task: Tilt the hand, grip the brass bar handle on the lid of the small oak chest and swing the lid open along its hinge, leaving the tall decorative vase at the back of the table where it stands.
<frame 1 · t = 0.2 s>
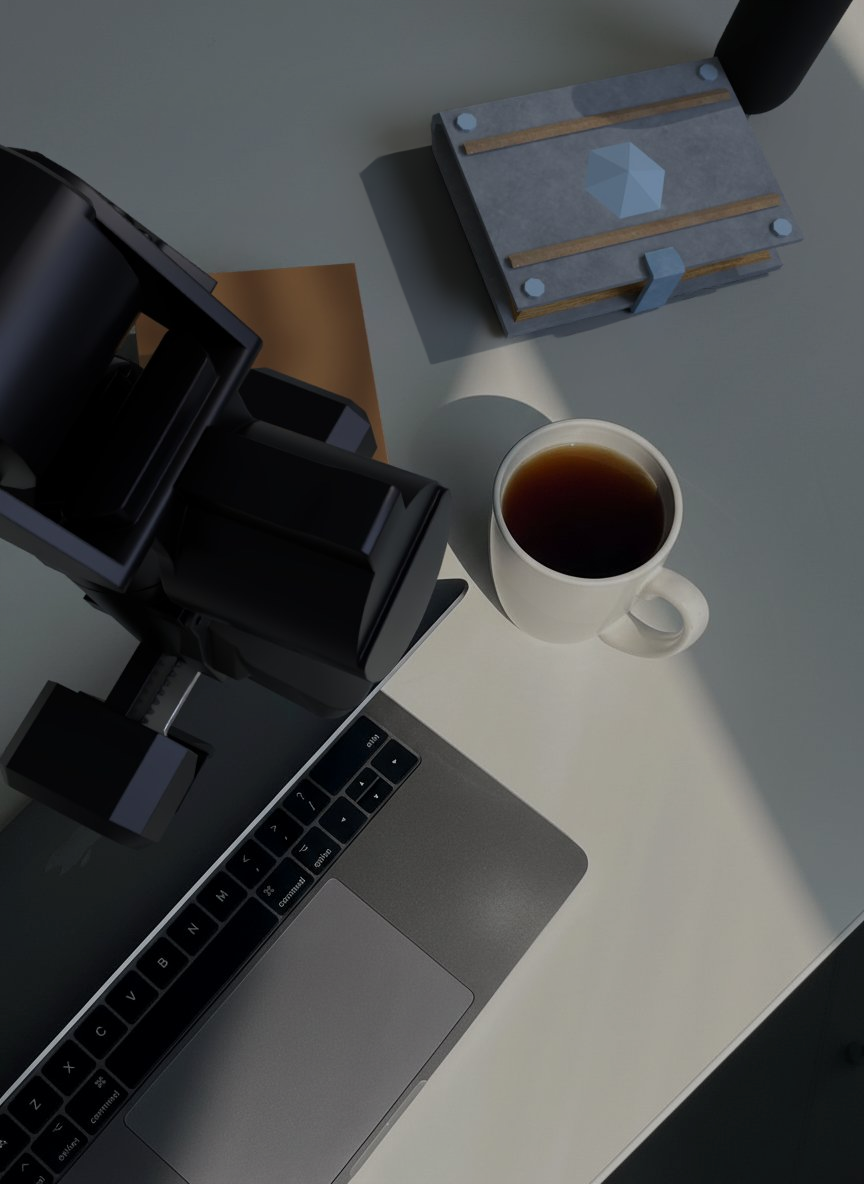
hand: (254, 659, 47), 14 cm above the table, tool pointing down, fingers open, 9 cm apart
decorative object: (737, 101, 78), on the table
lid: (257, 359, 59), point 7 cm above the table, hinge at 0.0°
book: (603, 212, 73), on the table
chest: (267, 413, 66), on the table
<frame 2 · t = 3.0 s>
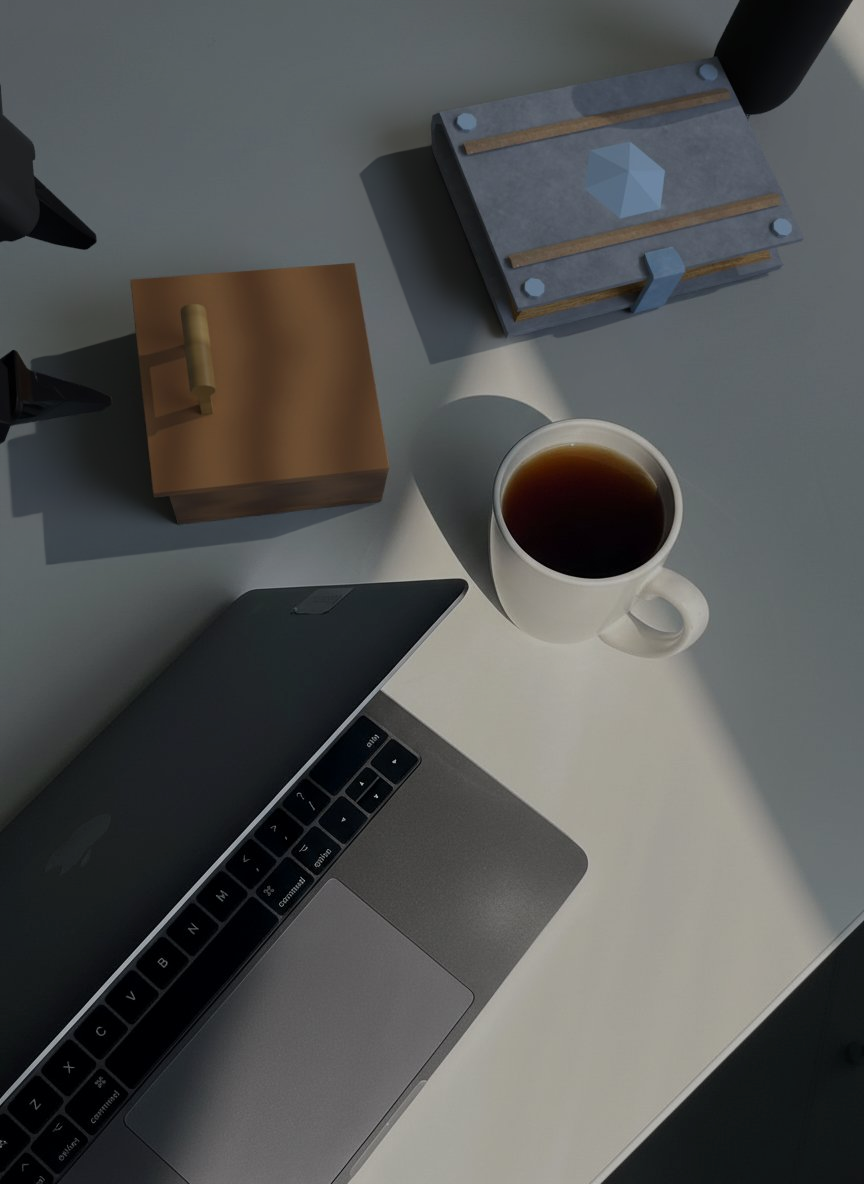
hand: (99, 322, 52), 12 cm above the table, tool tilted 45°, fingers open, 9 cm apart
nothing on the table moved.
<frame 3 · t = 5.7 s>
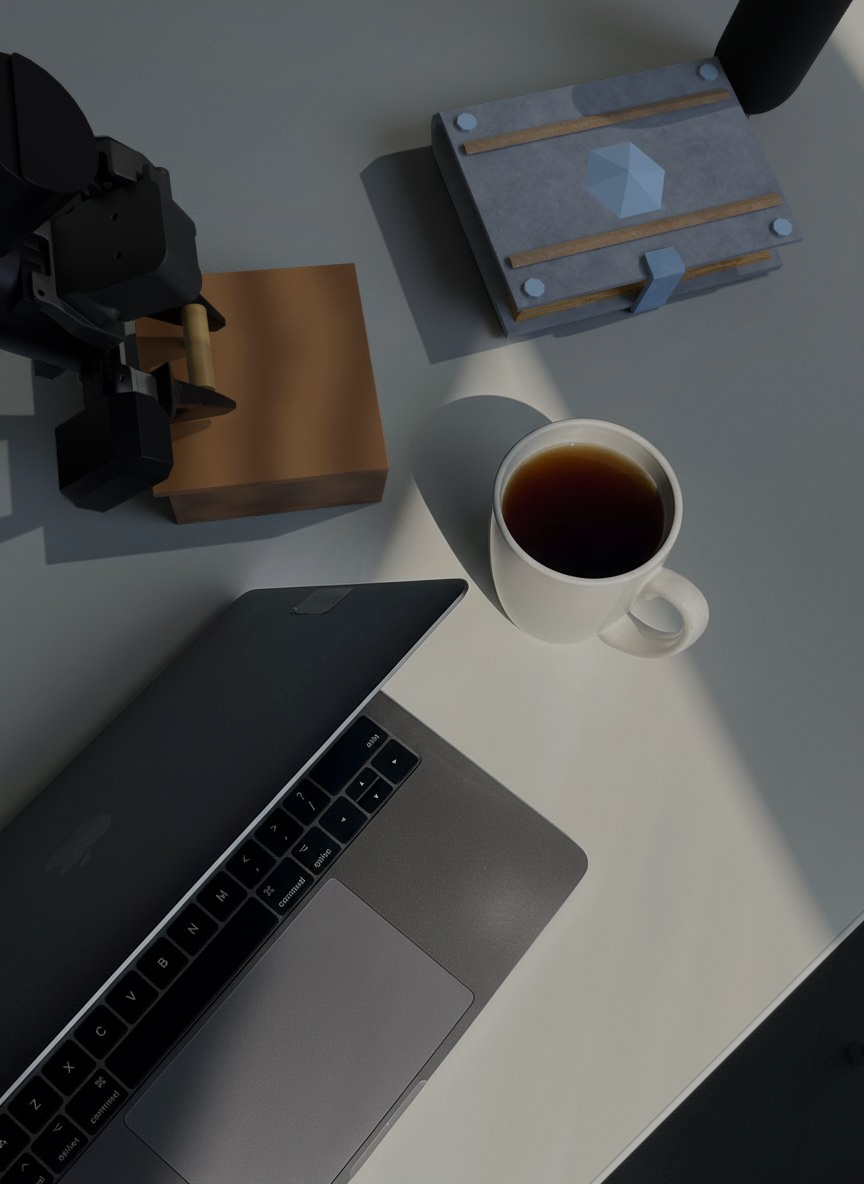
hand: (226, 367, 59), 7 cm above the table, tool tilted 45°, fingers closed on lid, 5 cm apart
lid: (257, 359, 59), point 7 cm above the table, hinge at 0.0°, touching gripper
everything else where it was.
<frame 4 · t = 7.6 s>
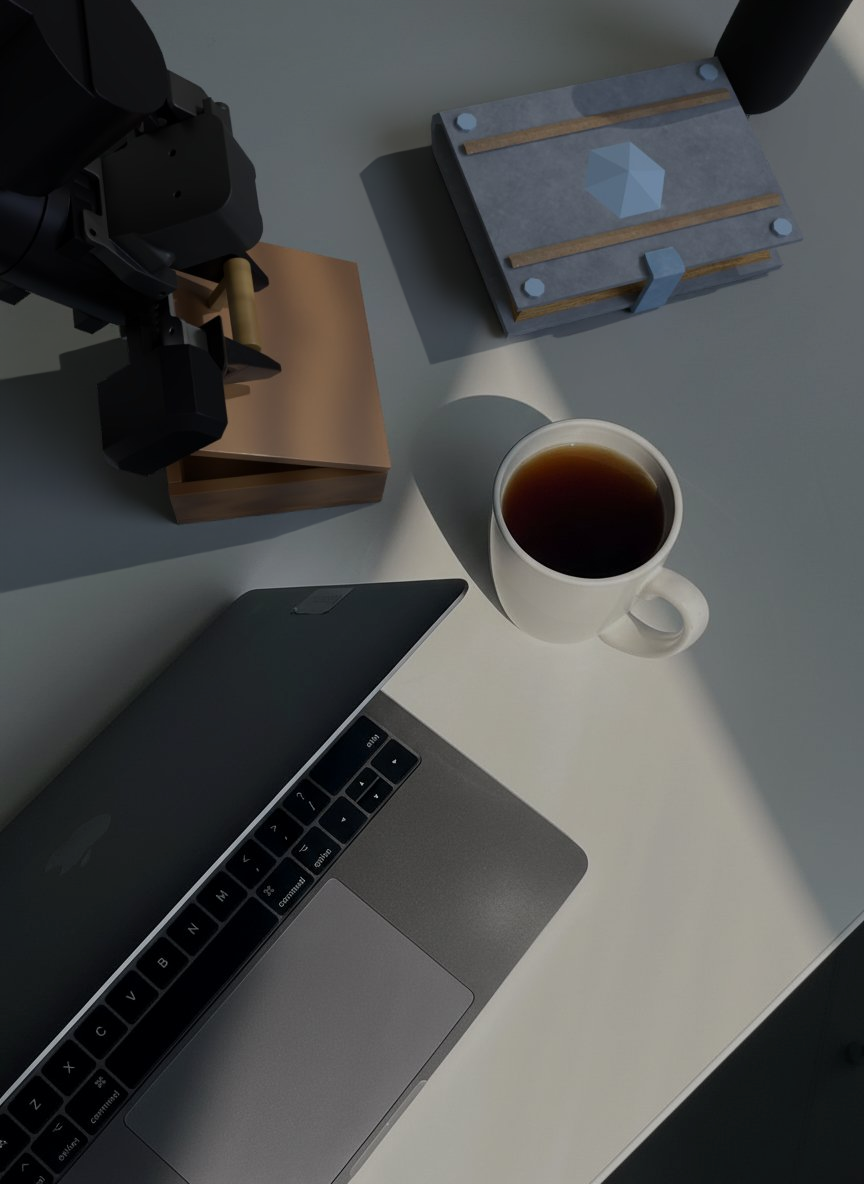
hand: (269, 328, 56), 10 cm above the table, tool tilted 45°, fingers closed on lid, 5 cm apart
lid: (284, 332, 56), point 10 cm above the table, hinge at 26.3°, touching gripper
everything else where it was.
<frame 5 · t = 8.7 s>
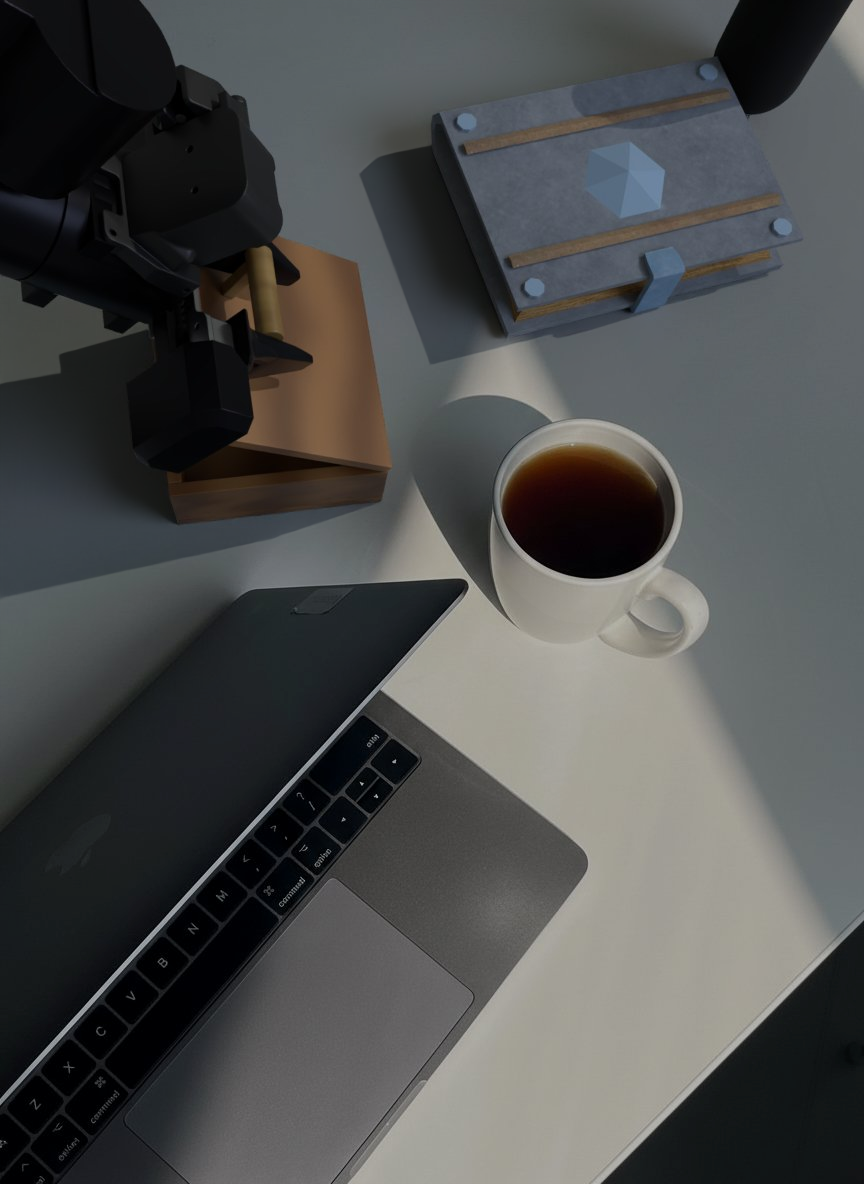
hand: (301, 321, 56), 11 cm above the table, tool tilted 45°, fingers closed on lid, 5 cm apart
lid: (297, 324, 56), point 11 cm above the table, hinge at 34.5°, touching gripper
everything else where it was.
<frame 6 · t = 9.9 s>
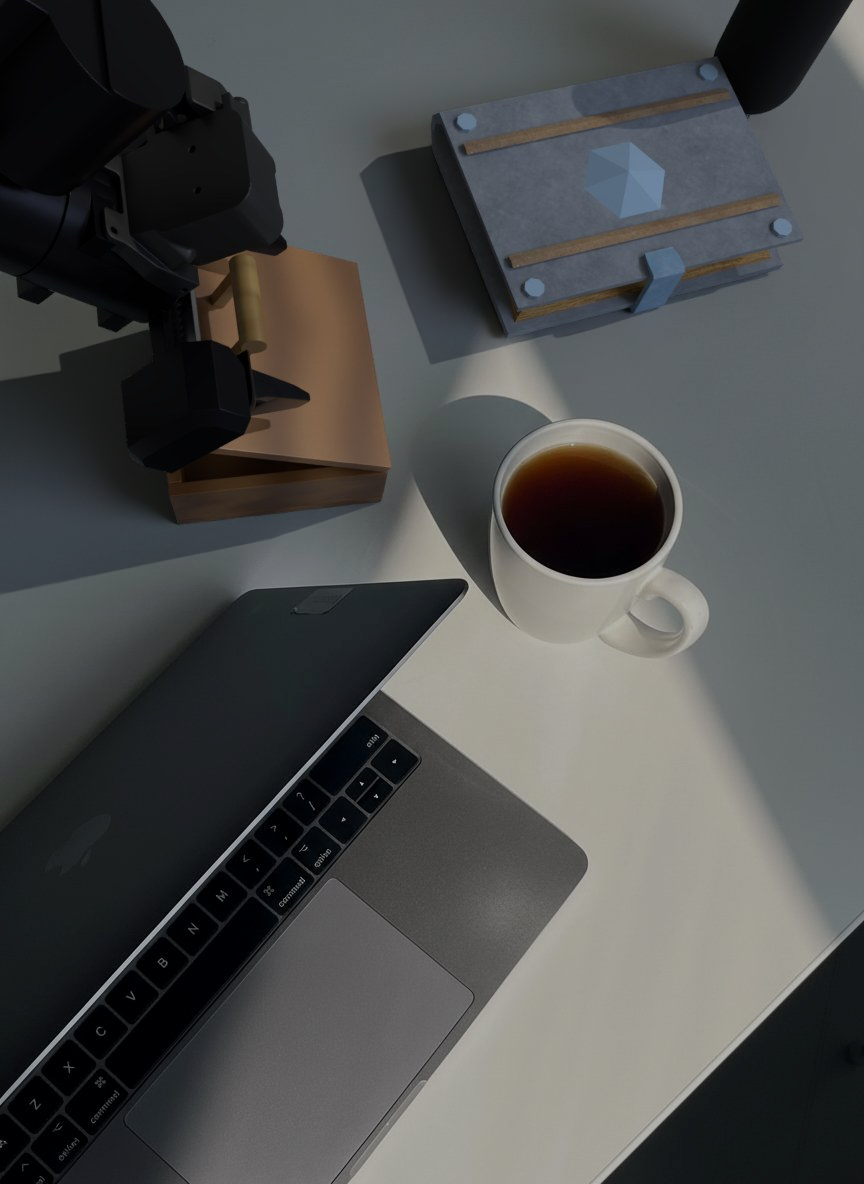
hand: (292, 323, 56), 11 cm above the table, tool tilted 45°, fingers open, 9 cm apart
lid: (288, 329, 56), point 10 cm above the table, hinge at 28.5°
everything else where it was.
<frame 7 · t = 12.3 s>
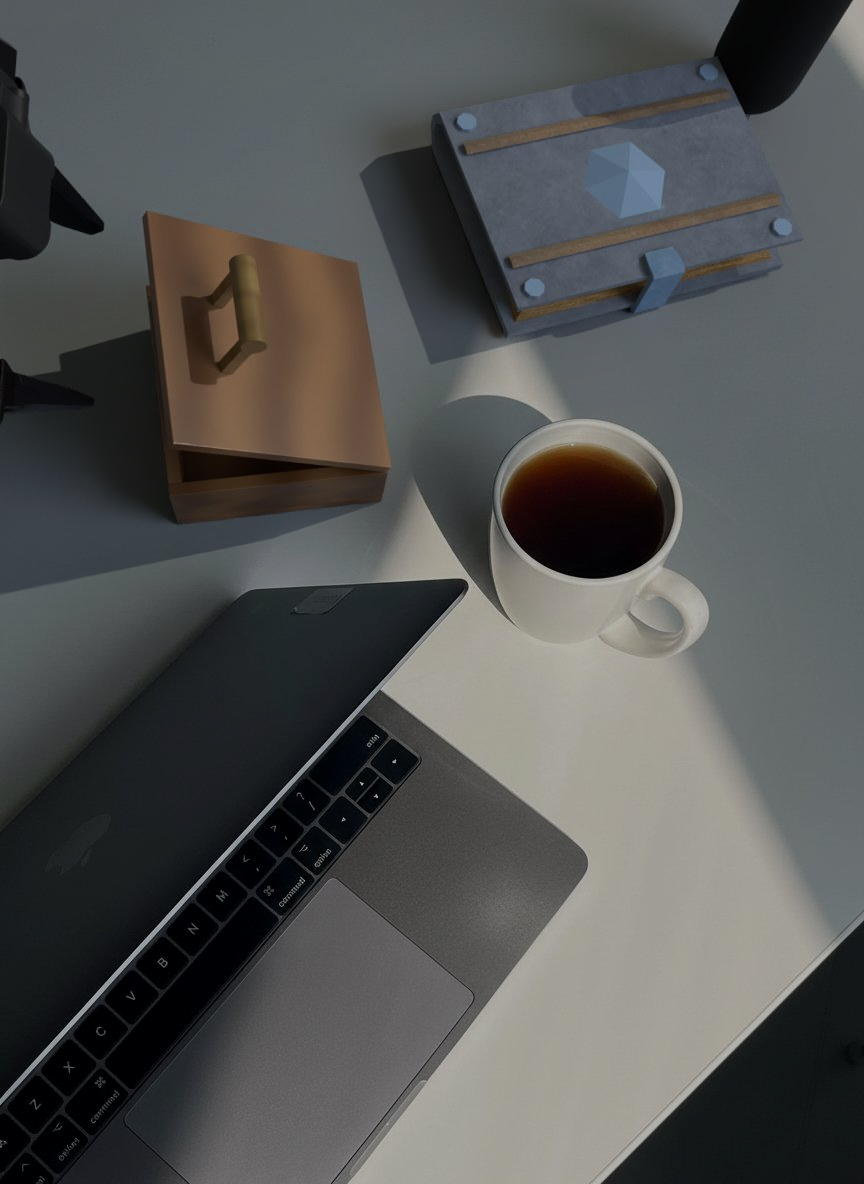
hand: (94, 315, 52), 13 cm above the table, tool tilted 40°, fingers open, 9 cm apart
nothing on the table moved.
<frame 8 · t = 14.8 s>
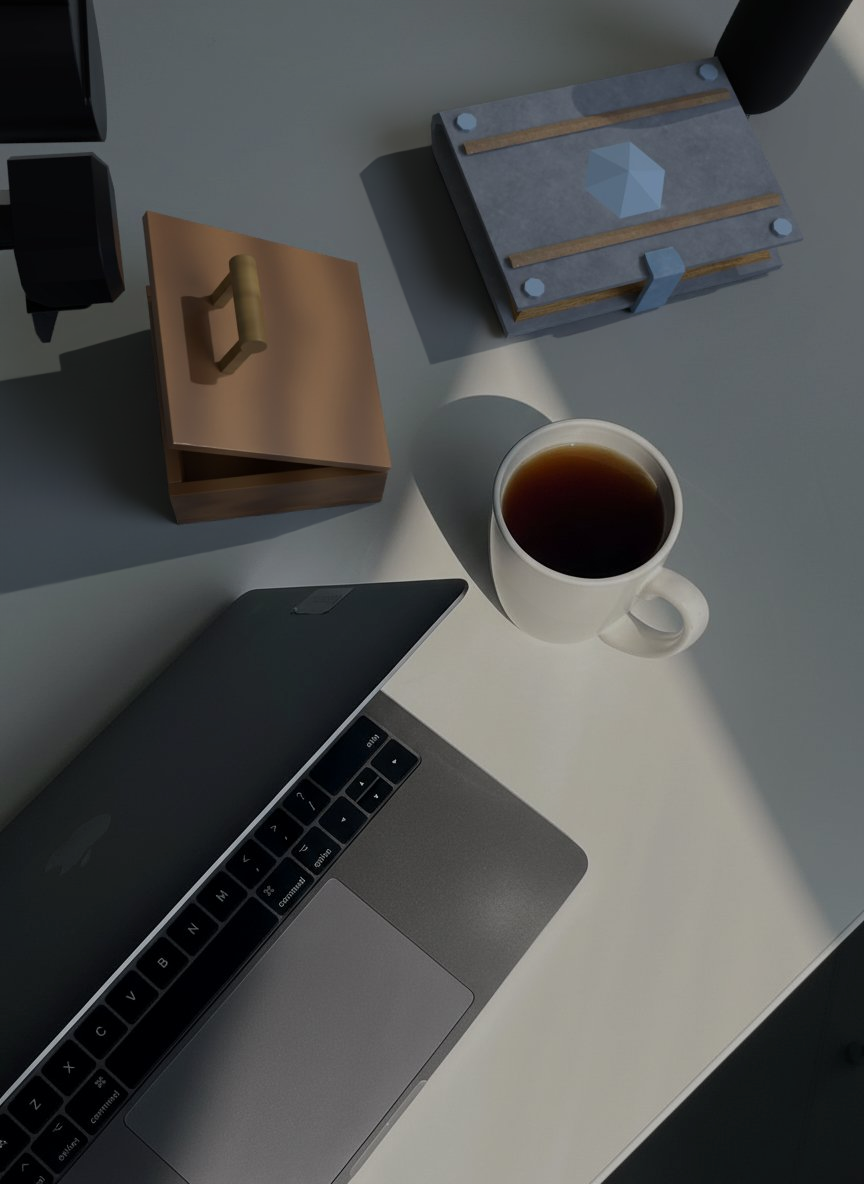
nothing on the table moved.
at the end: lid at +28° (first picture: +0°); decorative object moved 0.2 cm from its start; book moved 0.2 cm from its start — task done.
